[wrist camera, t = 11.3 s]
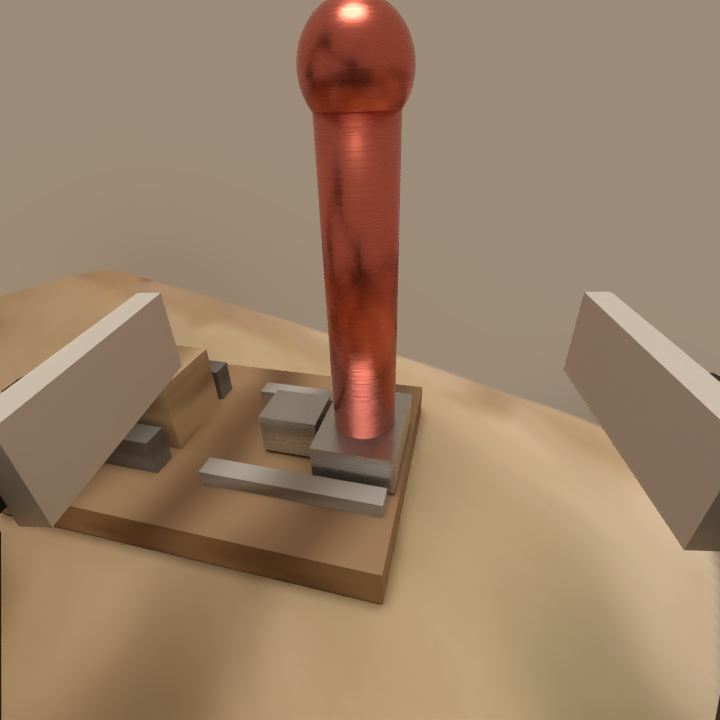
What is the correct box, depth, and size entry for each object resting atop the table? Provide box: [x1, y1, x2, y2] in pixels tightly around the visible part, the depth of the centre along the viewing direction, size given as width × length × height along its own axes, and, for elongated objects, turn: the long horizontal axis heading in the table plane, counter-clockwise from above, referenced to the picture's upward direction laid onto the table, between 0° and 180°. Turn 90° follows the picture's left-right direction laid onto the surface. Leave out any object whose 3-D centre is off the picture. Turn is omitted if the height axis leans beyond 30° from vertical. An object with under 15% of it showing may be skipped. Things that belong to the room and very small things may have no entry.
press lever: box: [258, 0, 415, 493], centre depth 18 cm, size 7×5×18 cm
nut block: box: [137, 346, 220, 449], centre depth 24 cm, size 4×4×4 cm
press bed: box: [2, 361, 422, 604], centre depth 23 cm, size 20×13×6 cm, turn 76°
